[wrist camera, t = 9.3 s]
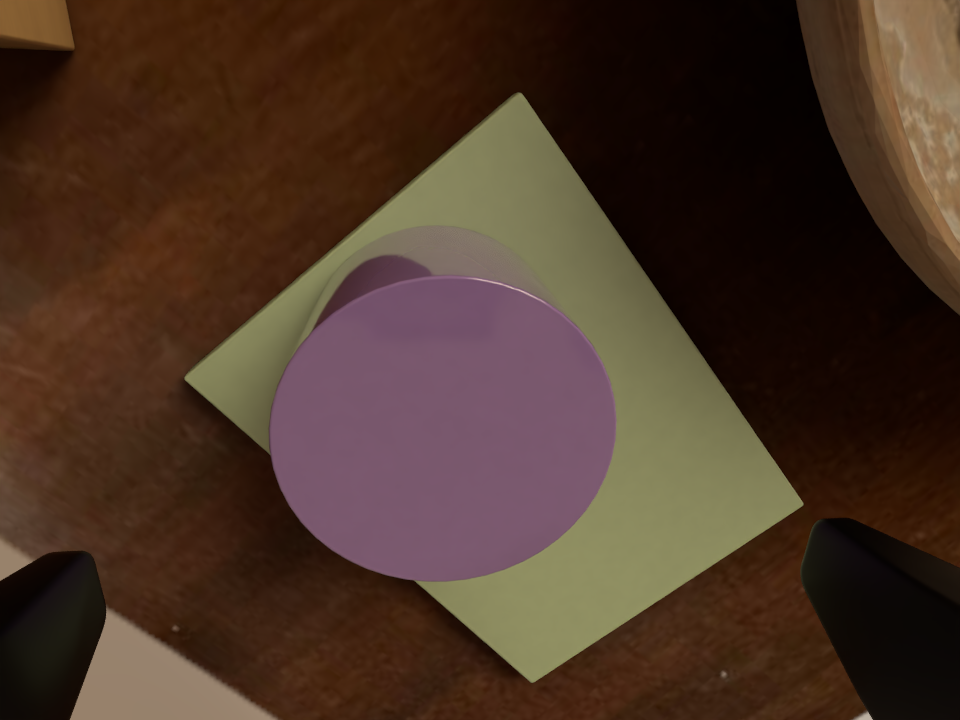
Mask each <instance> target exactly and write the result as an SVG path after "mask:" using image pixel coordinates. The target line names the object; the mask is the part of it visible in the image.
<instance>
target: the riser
mask: <svg viewBox="0 0 960 720" xmlns="http://www.w3.org/2000/svg"><path fill="white" fill-rule="evenodd" d="M0 48H11V49H35V50H59V51H72V50H74V42H73V37H72V32H71V26H70V21H69V16H68V11H67V6H66V1H65V0H0Z"/></svg>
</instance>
